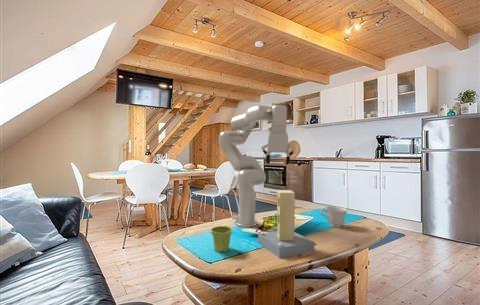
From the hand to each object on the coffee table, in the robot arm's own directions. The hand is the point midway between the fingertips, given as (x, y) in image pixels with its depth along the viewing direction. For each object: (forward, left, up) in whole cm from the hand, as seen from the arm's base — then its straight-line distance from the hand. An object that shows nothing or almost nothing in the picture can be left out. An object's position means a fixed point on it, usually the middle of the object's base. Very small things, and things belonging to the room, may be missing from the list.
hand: (277, 164), depth 130 cm
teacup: (+27, +30, -36) cm, 54 cm away
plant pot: (-18, -27, -36) cm, 49 cm away
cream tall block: (+7, -13, -32) cm, 36 cm away
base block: (+7, -13, -36) cm, 39 cm away
